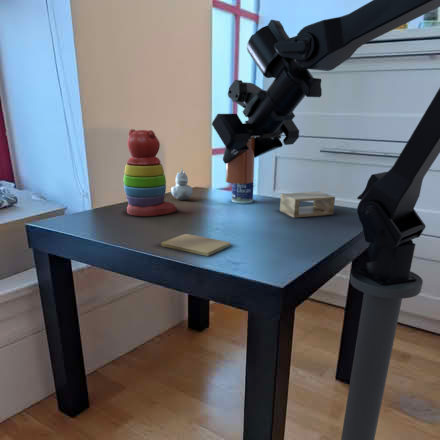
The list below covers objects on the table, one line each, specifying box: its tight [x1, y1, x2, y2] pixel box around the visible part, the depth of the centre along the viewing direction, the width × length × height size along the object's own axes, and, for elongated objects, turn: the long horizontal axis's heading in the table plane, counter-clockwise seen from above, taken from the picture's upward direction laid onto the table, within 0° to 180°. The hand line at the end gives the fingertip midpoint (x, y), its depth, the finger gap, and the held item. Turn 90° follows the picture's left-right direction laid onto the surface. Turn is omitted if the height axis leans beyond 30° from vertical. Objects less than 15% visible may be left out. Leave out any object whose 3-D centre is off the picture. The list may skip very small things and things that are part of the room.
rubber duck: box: [170, 168, 193, 201], centre depth 109 cm, size 5×7×8 cm
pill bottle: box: [231, 182, 254, 205], centre depth 105 cm, size 5×5×10 cm
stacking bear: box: [123, 128, 177, 217], centre depth 93 cm, size 11×10×18 cm
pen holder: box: [225, 137, 255, 184], centre depth 82 cm, size 6×6×9 cm
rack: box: [279, 190, 336, 219], centre depth 95 cm, size 7×10×4 cm
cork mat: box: [160, 233, 232, 257], centre depth 73 cm, size 10×7×1 cm
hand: (235, 160), depth 83 cm, fingers closed on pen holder, 5 cm apart
